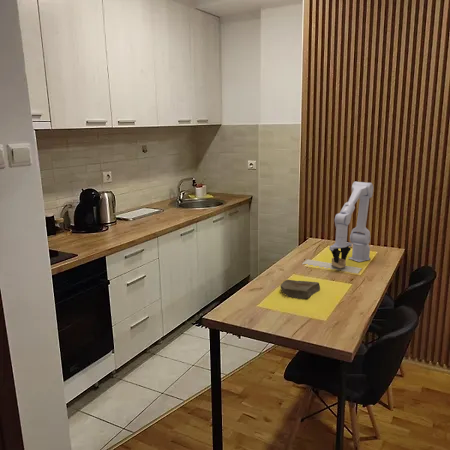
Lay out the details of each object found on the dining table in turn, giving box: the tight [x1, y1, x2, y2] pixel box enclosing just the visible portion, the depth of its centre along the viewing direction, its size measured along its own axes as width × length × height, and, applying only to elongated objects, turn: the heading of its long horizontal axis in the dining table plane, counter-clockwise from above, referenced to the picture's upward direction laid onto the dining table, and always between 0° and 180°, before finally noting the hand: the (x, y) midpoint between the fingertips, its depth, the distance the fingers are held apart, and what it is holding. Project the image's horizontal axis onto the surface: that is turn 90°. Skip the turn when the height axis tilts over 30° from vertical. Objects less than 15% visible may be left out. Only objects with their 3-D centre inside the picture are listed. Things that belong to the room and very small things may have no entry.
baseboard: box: [302, 258, 363, 274], centre depth 227 cm, size 30×3×10 cm
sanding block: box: [331, 257, 347, 271], centre depth 223 cm, size 4×6×4 cm, turn 33°
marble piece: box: [279, 279, 321, 300], centre depth 192 cm, size 17×15×4 cm
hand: (339, 261), depth 222 cm, fingers open, 5 cm apart
